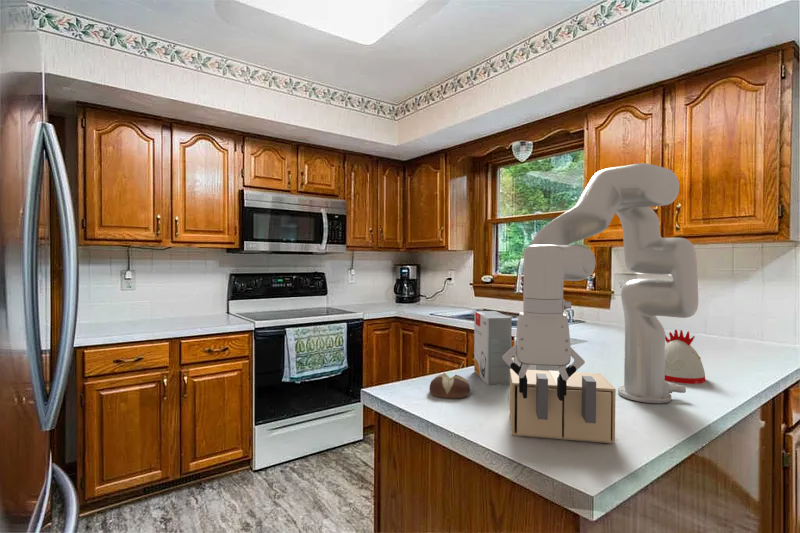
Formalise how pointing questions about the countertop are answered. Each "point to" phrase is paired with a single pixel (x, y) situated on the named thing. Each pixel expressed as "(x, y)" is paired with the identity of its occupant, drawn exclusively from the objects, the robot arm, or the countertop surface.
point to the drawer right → (587, 413)
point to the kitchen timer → (682, 360)
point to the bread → (449, 387)
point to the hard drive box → (492, 346)
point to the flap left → (539, 410)
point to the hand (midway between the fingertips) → (542, 396)
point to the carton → (572, 384)
